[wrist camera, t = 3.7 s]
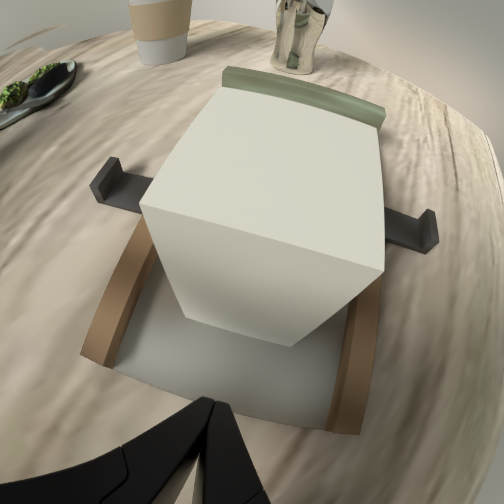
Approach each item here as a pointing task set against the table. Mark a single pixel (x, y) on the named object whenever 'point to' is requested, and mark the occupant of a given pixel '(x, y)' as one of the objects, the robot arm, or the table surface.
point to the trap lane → (234, 344)
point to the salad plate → (35, 91)
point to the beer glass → (298, 33)
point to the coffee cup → (160, 29)
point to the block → (268, 215)
